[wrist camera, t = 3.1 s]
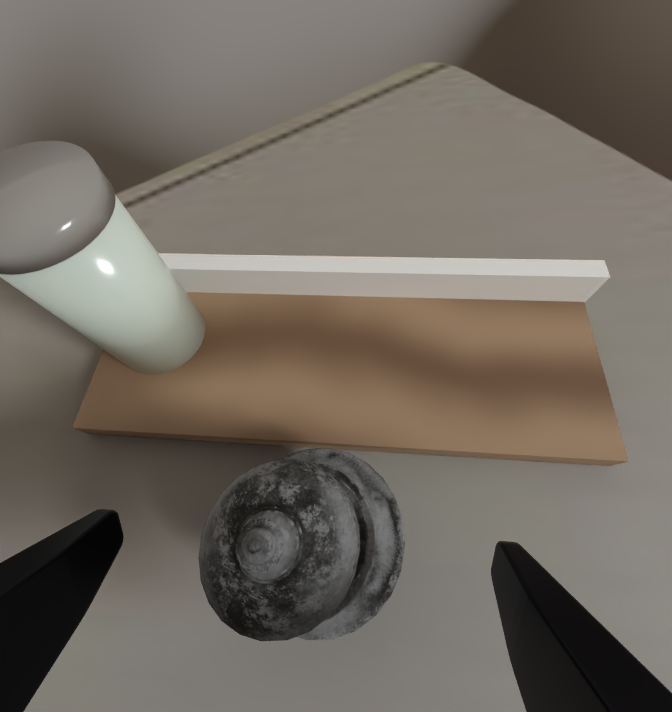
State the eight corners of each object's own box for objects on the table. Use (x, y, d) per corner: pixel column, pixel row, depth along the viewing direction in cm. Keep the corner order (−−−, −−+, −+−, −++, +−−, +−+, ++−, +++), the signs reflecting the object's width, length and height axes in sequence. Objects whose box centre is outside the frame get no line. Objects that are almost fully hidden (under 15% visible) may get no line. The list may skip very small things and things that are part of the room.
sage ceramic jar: (116, 386, 18) (-87, 268, 10) (118, 309, 20) (-47, 158, 12) (211, 363, 18) (91, 229, 10) (203, 289, 20) (99, 128, 12)
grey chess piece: (420, 515, 15) (564, 491, 5) (342, 652, 14) (280, 1145, 3) (314, 438, 17) (239, 289, 6) (232, 549, 15) (-71, 603, 4)
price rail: (572, 314, 19) (610, 277, 16) (139, 302, 21) (105, 267, 19) (568, 296, 20) (603, 257, 17) (145, 286, 22) (113, 250, 19)
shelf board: (610, 465, 16) (628, 461, 15) (89, 433, 18) (71, 427, 17) (567, 299, 20) (579, 286, 19) (143, 289, 22) (132, 276, 21)
